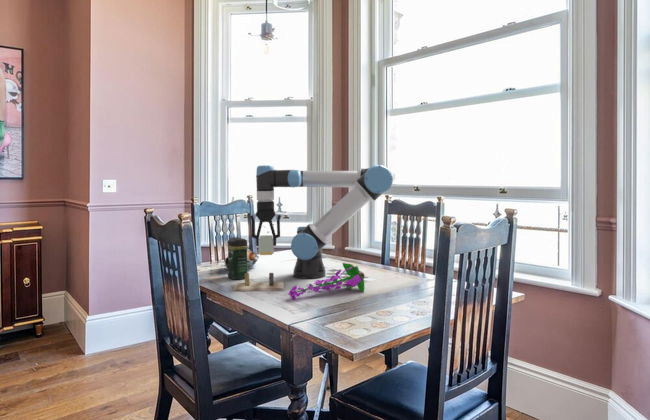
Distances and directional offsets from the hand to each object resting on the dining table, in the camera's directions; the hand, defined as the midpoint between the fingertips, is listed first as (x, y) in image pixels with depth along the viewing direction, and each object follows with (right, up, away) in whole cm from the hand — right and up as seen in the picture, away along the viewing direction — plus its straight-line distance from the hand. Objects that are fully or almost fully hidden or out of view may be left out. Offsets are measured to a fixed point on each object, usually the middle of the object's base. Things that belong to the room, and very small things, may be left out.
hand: (266, 253), depth 187 cm
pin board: (-1, -13, -11) cm, 17 cm away
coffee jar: (-14, -12, +7) cm, 20 cm away
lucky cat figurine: (-15, -11, +24) cm, 31 cm away
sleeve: (0, 0, 0) cm, 0 cm away
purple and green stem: (+28, -14, -20) cm, 37 cm away
